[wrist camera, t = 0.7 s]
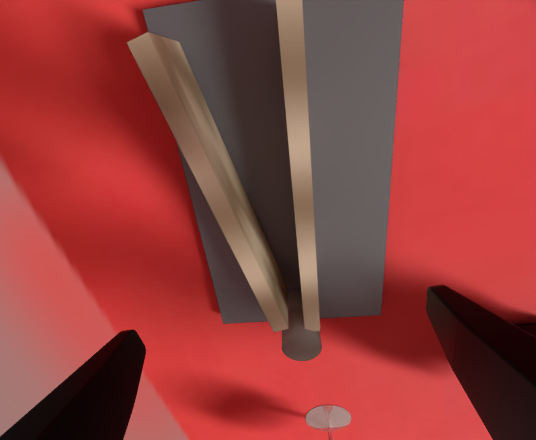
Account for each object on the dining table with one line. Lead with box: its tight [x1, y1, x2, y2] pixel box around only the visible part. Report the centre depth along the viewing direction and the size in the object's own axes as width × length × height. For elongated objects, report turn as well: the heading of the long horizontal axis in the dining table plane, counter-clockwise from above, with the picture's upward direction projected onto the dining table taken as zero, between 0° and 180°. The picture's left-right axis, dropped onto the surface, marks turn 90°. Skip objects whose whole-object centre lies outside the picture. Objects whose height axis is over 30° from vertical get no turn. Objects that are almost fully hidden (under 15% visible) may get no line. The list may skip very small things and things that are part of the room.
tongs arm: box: [127, 32, 289, 332], centre depth 17 cm, size 17×1×4 cm, turn 21°
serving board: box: [143, 0, 404, 324], centre depth 20 cm, size 22×13×1 cm, turn 7°
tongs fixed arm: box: [276, 0, 322, 361], centre depth 17 cm, size 20×3×4 cm, turn 7°
